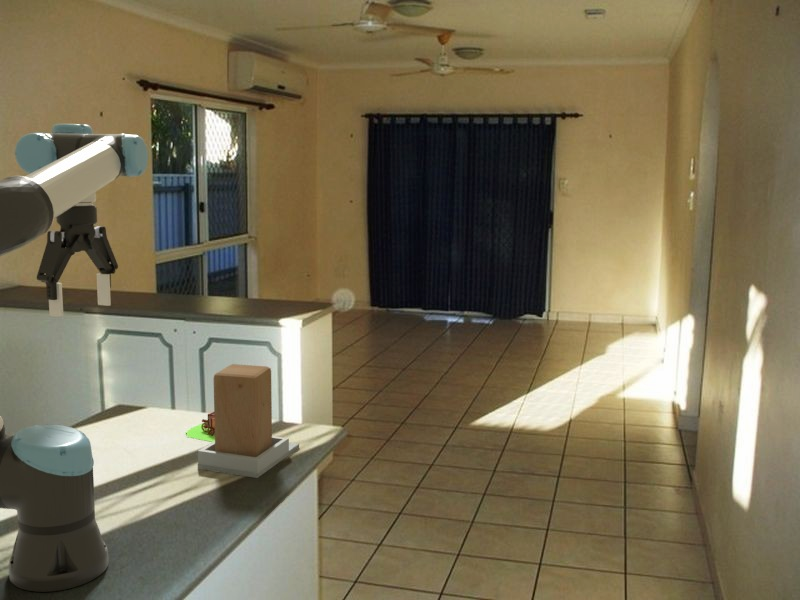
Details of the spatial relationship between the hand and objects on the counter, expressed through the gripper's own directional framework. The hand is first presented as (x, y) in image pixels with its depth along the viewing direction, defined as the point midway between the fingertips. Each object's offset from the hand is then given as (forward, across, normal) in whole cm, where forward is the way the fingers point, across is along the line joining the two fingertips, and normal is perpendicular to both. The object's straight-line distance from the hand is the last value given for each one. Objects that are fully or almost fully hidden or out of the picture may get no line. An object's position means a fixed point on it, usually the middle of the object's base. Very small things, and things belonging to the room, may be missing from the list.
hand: (81, 310), depth 173 cm
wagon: (+36, +38, -7) cm, 53 cm away
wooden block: (+35, +22, -24) cm, 48 cm away
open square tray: (+36, +25, -24) cm, 49 cm away
